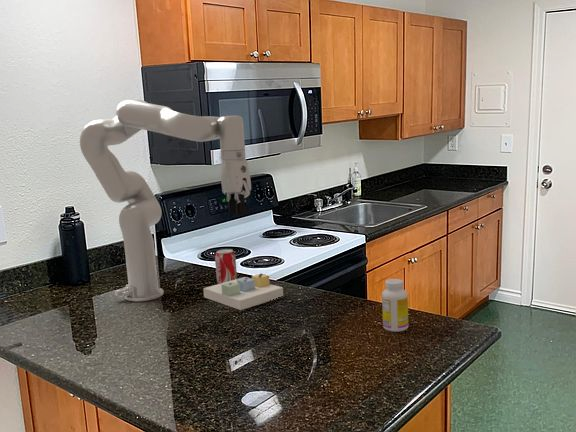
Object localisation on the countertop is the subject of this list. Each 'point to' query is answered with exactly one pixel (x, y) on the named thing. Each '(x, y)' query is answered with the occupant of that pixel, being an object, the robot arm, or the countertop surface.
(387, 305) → the supplement bottle
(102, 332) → the countertop surface
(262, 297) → the keypad board
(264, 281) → the tile three pip
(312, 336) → the countertop surface
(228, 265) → the soda can
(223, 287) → the tile one pip
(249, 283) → the tile two pip
